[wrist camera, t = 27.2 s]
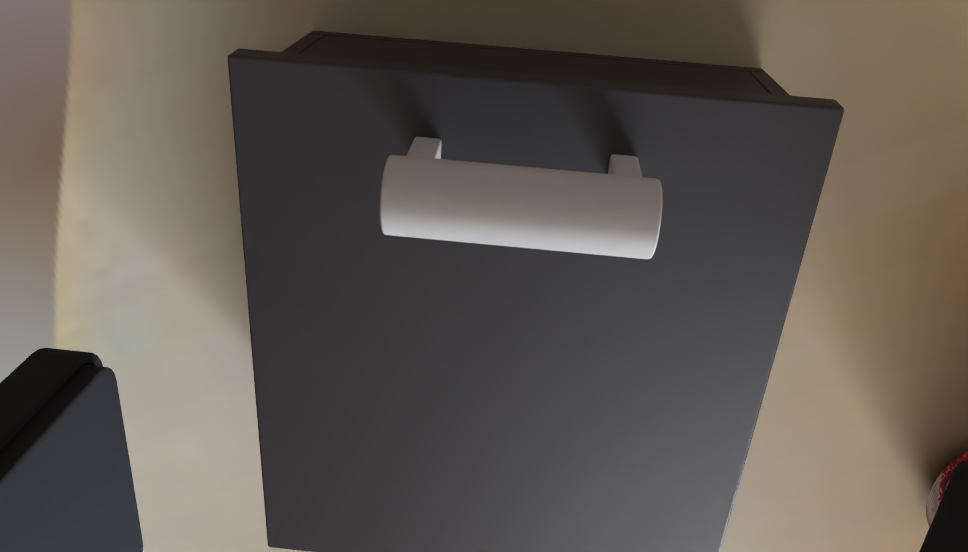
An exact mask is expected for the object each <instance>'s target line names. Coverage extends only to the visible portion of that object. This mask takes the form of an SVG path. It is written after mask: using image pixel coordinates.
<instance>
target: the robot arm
mask: <svg viewBox="0 0 968 552" xmlns="http://www.w3.org/2000/svg"><path fill="white" fill-rule="evenodd" d="M142 551H143V540H142V534H141V528H140V522H139V516H138V510H137V504H136V498H135V491H134V485H133V479H132V473H131V467H130V461H129V455H128V449H127V442H126V436H125V430H124V424H123V418H122V412H121V406H120V400H119V393H118V387H117V381H116V377H115V374H114V372H113V371H112V369H110V368H108V367H103V365H102V362H101V360H100V359H99V357H98V356H97V355H95V354H93V353H89V352H80V351H70V350H61V349H52V348H43V349H39V350H37V351H35V352H34V353H32V354H31V355H30V356H29V357H28V358H27V359H26V360H25V361H24V362H23V363H22V364H20V366H18V367H17V368H16V369H15V370H14V371H13V372H12V373H11V374H10V375H9V376H8V377H6V378H5V379H4V380H3V381H2V382H1V383H0V552H142ZM920 552H968V460H965V461H961V462H960V463H959V464H957V466H956V467H955V469H954V471H953V473H952V475H951V478H950V480H949V483H948V485H947V487H946V490H945V492H944V495H943V497H942V499H941V502H940V504H939V506H938V509H937V511H936V514H935V516H934V518H933V521H932V523H931V526H930V528H929V530H928V533H927V535H926V538H925V540H924V542H923V545H922V547H921V549H920Z"/></svg>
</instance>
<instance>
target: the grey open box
mask: <svg viewBox="0 0 968 552" xmlns="http://www.w3.org/2000/svg"><path fill="white" fill-rule="evenodd" d="M282 52H284V53H296V54H308V55H319V56H331V57H343V58H355V59H366V60H378V61H390V62H401V63H413V64H425V65H436V66H448V67H460V68H471V69H483V70H495V71H506V72H518V73H530V74H541V75H553V76H565V77H576V78H588V79H600V80H612V81H623V82H635V83H647V84H658V85H670V86H682V87H693V88H705V89H717V90H728V91H740V92H752V93H763V94H775V95H787V96H790V95H789V94H788V93H787V92H786V91H785V90H784V89H783V88H782V87H781V86H780V85H779V84H777V83H776V82H775V81H774V80H773V79H772V78H771V77H770V76H769V75H768V74H767V73H766V72H765V71H764V70H763V69H760V68H749V67H737V66H725V65H713V64H701V63H689V62H678V61H666V60H654V59H642V58H630V57H618V56H607V55H595V54H583V53H571V52H559V51H547V50H536V49H524V48H512V47H500V46H488V45H476V44H465V43H453V42H441V41H429V40H417V39H405V38H394V37H382V36H370V35H358V34H346V33H334V32H323V31H312V32H310V33H309V34H307V35H306V36H304V37H303V38H301V39H300V40H298V41H297V42H295V43H294V44H292V45H291V46H289V47H288V48H286V49H285V50H283V51H282Z"/></svg>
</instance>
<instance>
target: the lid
mask: <svg viewBox="0 0 968 552" xmlns="http://www.w3.org/2000/svg"><path fill="white" fill-rule="evenodd" d="M228 68H229V80H230V92H231V104H232V116H233V128H234V140H235V152H236V164H237V176H238V188H239V201H240V213H241V225H242V237H243V249H244V261H245V273H246V285H247V297H248V309H249V321H250V334H251V346H252V358H253V370H254V382H255V394H256V406H257V418H258V430H259V442H260V454H261V467H262V479H263V491H264V503H265V515H266V527H267V539H268V546H269V547H275V548H284V549H293V550H302V551H312V552H720V549H721V545H722V542H723V538H724V535H725V531H726V528H727V524H728V521H729V517H730V513H731V510H732V506H733V503H734V499H735V496H736V492H737V489H738V485H739V482H740V478H741V474H742V471H743V467H744V464H745V460H746V457H747V453H748V450H749V446H750V443H751V439H752V435H753V432H754V428H755V425H756V421H757V418H758V414H759V411H760V407H761V404H762V400H763V396H764V393H765V389H766V386H767V382H768V379H769V375H770V372H771V368H772V365H773V361H774V357H775V354H776V350H777V347H778V343H779V340H780V336H781V333H782V329H783V326H784V322H785V318H786V315H787V311H788V308H789V304H790V301H791V297H792V294H793V290H794V287H795V283H796V279H797V276H798V272H799V269H800V265H801V262H802V258H803V255H804V251H805V248H806V244H807V240H808V237H809V233H810V230H811V226H812V223H813V219H814V216H815V212H816V209H817V205H818V201H819V198H820V194H821V191H822V187H823V184H824V180H825V177H826V173H827V170H828V166H829V162H830V159H831V155H832V152H833V148H834V145H835V141H836V138H837V134H838V131H839V127H840V123H841V120H842V116H843V113H844V108H843V107H842V106H841V105H840V104H839V103H838V102H837V101H836V100H833V99H822V98H810V97H798V96H787V95H775V94H763V93H752V92H740V91H728V90H717V89H705V88H693V87H682V86H670V85H658V84H647V83H635V82H623V81H612V80H600V79H588V78H576V77H565V76H553V75H541V74H530V73H518V72H506V71H495V70H483V69H471V68H460V67H448V66H436V65H425V64H413V63H401V62H390V61H378V60H366V59H355V58H343V57H331V56H319V55H308V54H296V53H284V52H273V51H261V50H249V49H237V50H235V51H234V52H233V53H231V54H230V55H228Z"/></svg>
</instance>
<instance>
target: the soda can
mask: <svg viewBox="0 0 968 552" xmlns="http://www.w3.org/2000/svg"><path fill="white" fill-rule="evenodd" d="M965 460H968V451H966V452H964V453H963V454H962V455H960V456H959V457H957V458H956V459H955V460H953V461H952V462H951V463H950V464H949V465H948V466H947V467H946V468H945V469H944V470H943V471H942V472H941V474H940V475H939V476H938V477H937V479H936V481H935V482H934V484H933V486H932V487H931V490H930V493H929V495H928V499H927V505H926V515H927V520H928V524H929V527H930V526H931V523H932V521H933V518H934V516H935V514H936V511H937V509H938V506H939V504H940V502H941V499H942V497H943V495H944V492H945V490H946V487H947V485H948V483H949V480H950V478H951V475H952V473H953V471H954V469H955V467H956V466H957V464H959V463H960V462H961V461H965Z"/></svg>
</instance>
